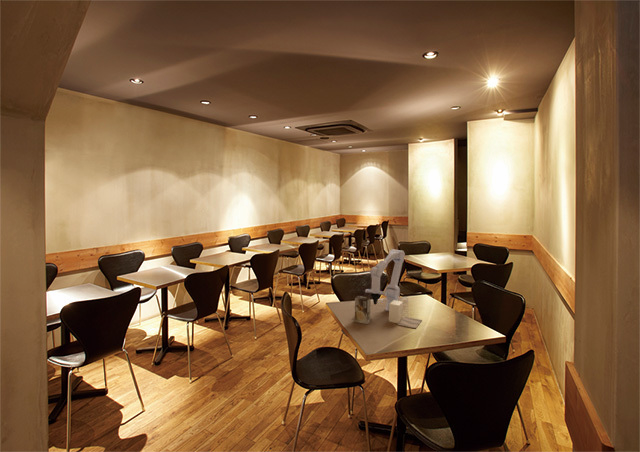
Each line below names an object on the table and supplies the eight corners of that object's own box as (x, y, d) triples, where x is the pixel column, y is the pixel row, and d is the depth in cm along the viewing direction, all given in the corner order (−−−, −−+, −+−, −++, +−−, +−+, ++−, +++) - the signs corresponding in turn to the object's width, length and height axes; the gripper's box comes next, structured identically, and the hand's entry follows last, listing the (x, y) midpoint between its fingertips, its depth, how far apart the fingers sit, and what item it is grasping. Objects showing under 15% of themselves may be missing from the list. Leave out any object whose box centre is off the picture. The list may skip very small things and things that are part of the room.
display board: (404, 317, 228) (404, 316, 228) (421, 320, 222) (421, 320, 222) (397, 325, 214) (397, 324, 214) (415, 329, 208) (415, 328, 208)
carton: (393, 317, 228) (393, 300, 227) (402, 319, 225) (403, 301, 224) (388, 321, 221) (389, 303, 219) (398, 323, 217) (399, 305, 216)
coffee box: (370, 321, 221) (371, 297, 219) (367, 324, 215) (367, 300, 213) (357, 318, 225) (358, 295, 223) (354, 321, 219) (354, 297, 218)
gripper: (363, 284, 228) (363, 303, 230) (384, 287, 221) (383, 307, 222) (367, 282, 234) (367, 301, 236) (387, 285, 227) (387, 304, 228)
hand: (375, 304), depth 229 cm, fingers closed
